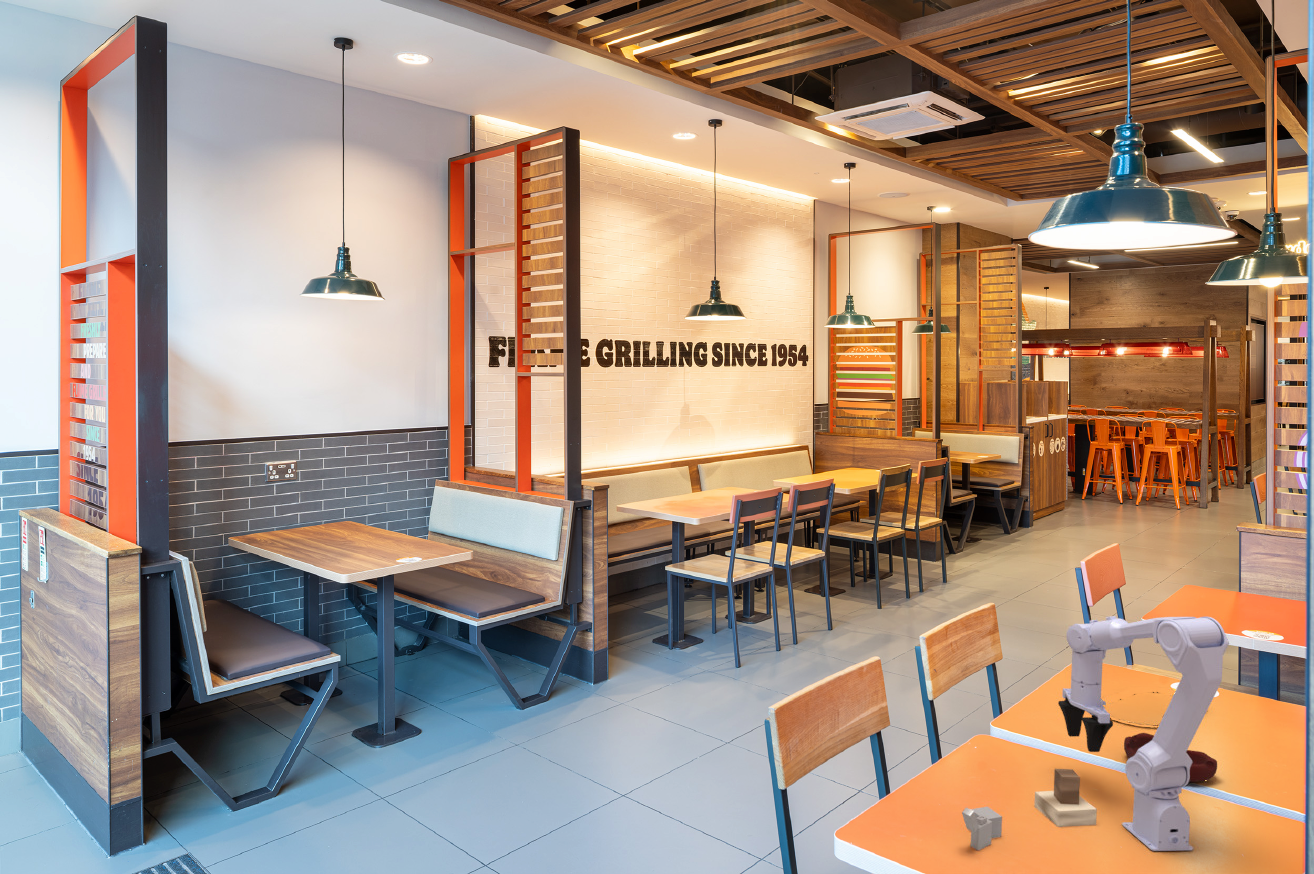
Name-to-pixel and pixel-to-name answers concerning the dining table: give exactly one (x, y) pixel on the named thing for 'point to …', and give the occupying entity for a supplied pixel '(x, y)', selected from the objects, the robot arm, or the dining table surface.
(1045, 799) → the birch block
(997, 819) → the grey block
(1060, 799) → the walnut block
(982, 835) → the lighter
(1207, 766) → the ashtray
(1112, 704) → the dining table surface
